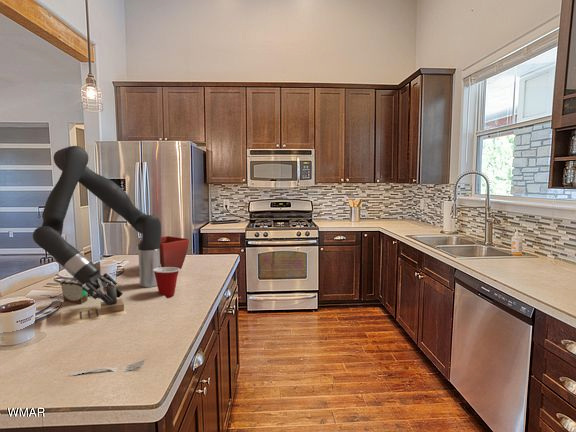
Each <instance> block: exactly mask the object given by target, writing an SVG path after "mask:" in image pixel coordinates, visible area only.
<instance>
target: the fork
mask: <svg viewBox="0 0 576 432" xmlns="http://www.w3.org/2000/svg"><path fill="white" fill-rule="evenodd" d="M146 361H147V360H146V359H142V360H140V361H137V362H134V363H130V364H127V365H125V366H124V367H123V369H122V372H130V371H131V370H134V369H136V368H139V367H141V366H143V365H144V364H145V362H146ZM102 370H108V371H111V372H112V373H115V372H116V371H117V370H118V367H106V366H105V367H99V368H95V369H87V370H83V371H75V372H71V373H72V375H75V376H78V374H80V375H83V374H82V373H84V374H88V373H92V372H96V371H102Z"/></svg>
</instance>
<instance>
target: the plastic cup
mask: <svg viewBox="0 0 576 432" xmlns="http://www.w3.org/2000/svg"><path fill="white" fill-rule="evenodd" d="M180 270H181V269H179V268H176V267H161V268H155V269H153V271H154V273H155V277H156V282H157V286H156V287H157V290H158V294H159V295H162V296H164V297H165V299H168V298H172V297H174V296H175V293H176V286H177V281H178V275H179V271H180Z"/></svg>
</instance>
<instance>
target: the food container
mask: <svg viewBox="0 0 576 432" xmlns="http://www.w3.org/2000/svg"><path fill="white" fill-rule="evenodd" d="M59 282H60V283H59V285H60V286H61V292H62V293H61V294H62V299H63V302H64V303H65V302H66V303H67V302H68V303H74V304H79V305H83V304H85V303H87V301H88V296H89V295H88V293H87V292H86V291H85V290H83V287H84V286H85V285H86V284H84V285H82V284H81V283H80V282H79V281H77V280H76V279H75V278H73V277H71V278H64V279H61V280H60V281H59Z"/></svg>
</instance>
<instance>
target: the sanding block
mask: <svg viewBox="0 0 576 432" xmlns="http://www.w3.org/2000/svg"><path fill="white" fill-rule="evenodd" d="M116 288H117V285H116V286H110V287H109V286H108V287H107V288H106V289H105V290H106V294H107V295H108V296H109V297H110V298H111V299H112V300H113V302H112V303H111V304H109V305H107V304H106V303H105V302H104V301H100V306H101V311H102V315H105V314H110V313H116V312H121V311H124V308H125V303H124V302H123V299H122V298H118V297H117V294H116Z"/></svg>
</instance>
